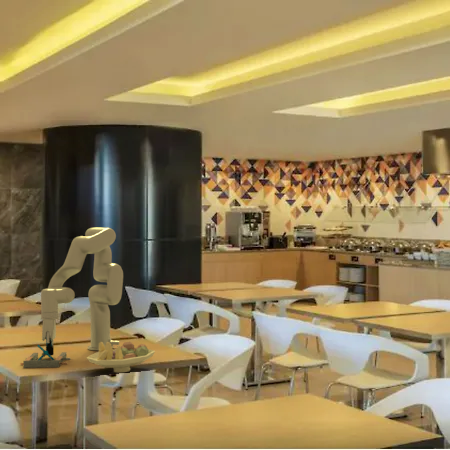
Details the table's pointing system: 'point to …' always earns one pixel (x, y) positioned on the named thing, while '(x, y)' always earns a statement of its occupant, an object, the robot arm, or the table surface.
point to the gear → (44, 353)
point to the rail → (44, 361)
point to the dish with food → (120, 356)
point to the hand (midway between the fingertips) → (49, 355)
